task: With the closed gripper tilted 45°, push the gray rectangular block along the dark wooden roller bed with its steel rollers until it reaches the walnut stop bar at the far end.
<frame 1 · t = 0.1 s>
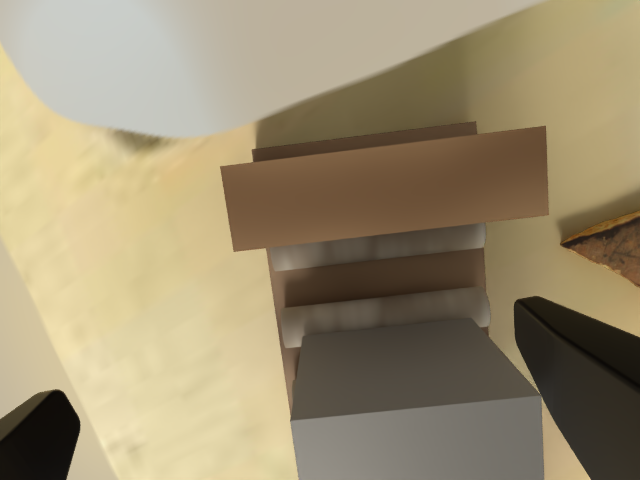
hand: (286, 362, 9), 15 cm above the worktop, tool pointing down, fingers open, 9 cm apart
roller bed: (380, 328, 25), on the worktop
gray rectangular block: (408, 471, 19), point 7 cm above the worktop, slide at 0.0 cm
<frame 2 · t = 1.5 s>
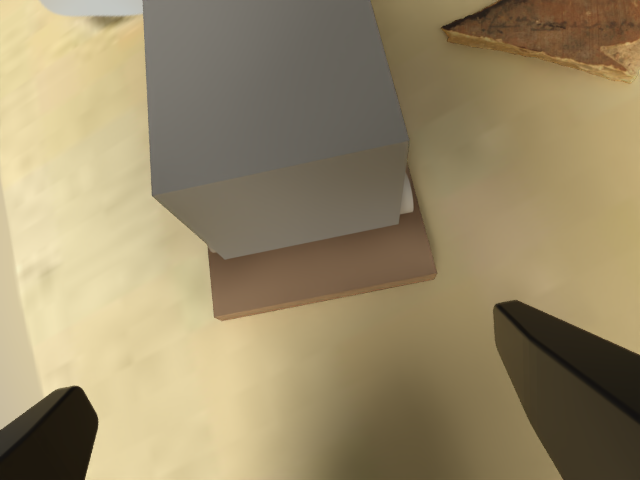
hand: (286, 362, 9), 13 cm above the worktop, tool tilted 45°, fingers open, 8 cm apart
shard: (559, 52, 27), on the worktop
roller bed: (295, 126, 26), on the worktop
gray rectangular block: (279, 103, 18), point 7 cm above the worktop, slide at 0.0 cm
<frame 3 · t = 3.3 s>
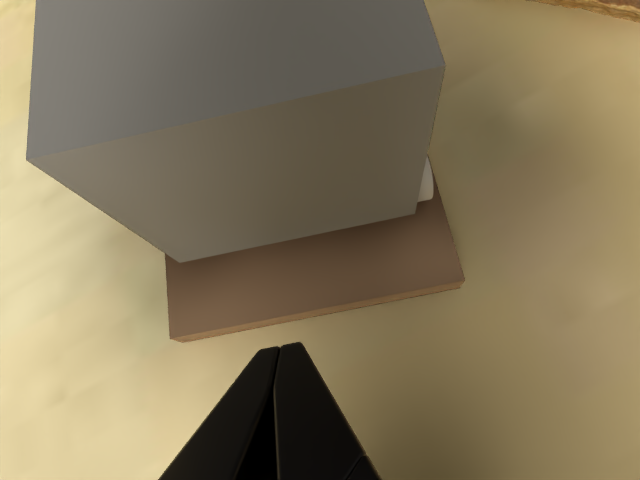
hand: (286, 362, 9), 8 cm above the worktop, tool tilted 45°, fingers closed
shard: (609, 3, 21), on the worktop
roller bed: (280, 96, 21), on the worktop
gray rectangular block: (249, 44, 13), point 7 cm above the worktop, slide at 0.0 cm
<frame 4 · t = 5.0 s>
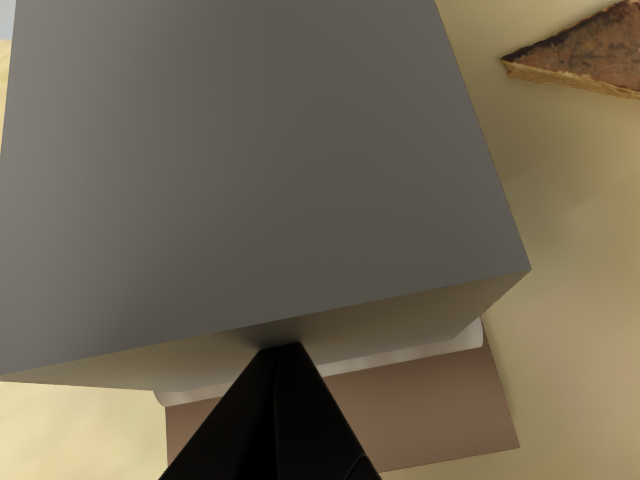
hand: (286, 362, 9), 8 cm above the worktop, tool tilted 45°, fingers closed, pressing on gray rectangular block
roller bed: (296, 195, 19), on the worktop
gray rectangular block: (261, 154, 11), point 7 cm above the worktop, slide at 1.3 cm, touching gripper
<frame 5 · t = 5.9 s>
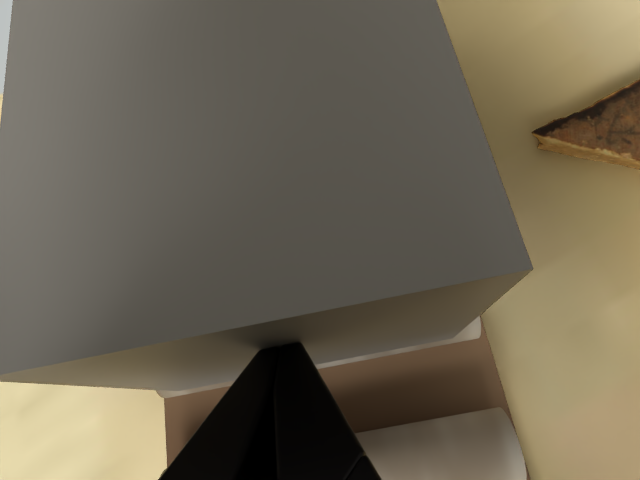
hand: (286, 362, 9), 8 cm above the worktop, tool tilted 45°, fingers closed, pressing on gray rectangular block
roller bed: (310, 280, 17), on the worktop
gray rectangular block: (261, 152, 11), point 7 cm above the worktop, slide at 5.0 cm, touching gripper
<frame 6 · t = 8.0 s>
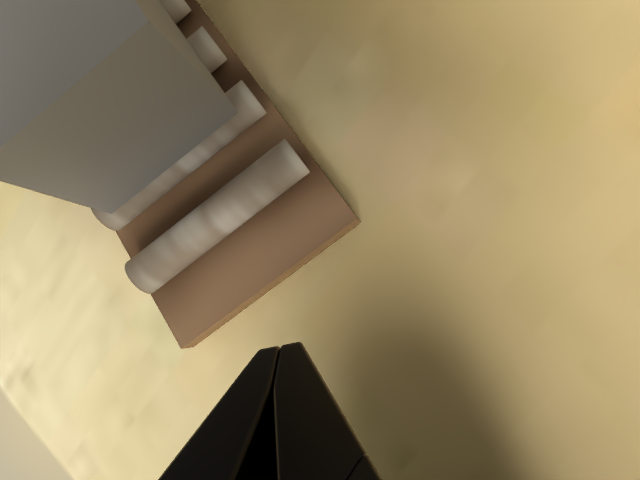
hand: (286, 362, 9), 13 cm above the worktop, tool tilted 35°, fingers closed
roller bed: (178, 137, 26), on the worktop
gray rectangular block: (75, 53, 19), point 7 cm above the worktop, slide at 5.0 cm
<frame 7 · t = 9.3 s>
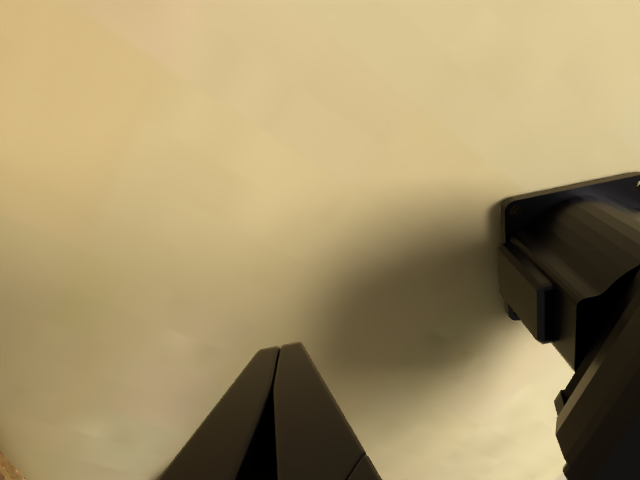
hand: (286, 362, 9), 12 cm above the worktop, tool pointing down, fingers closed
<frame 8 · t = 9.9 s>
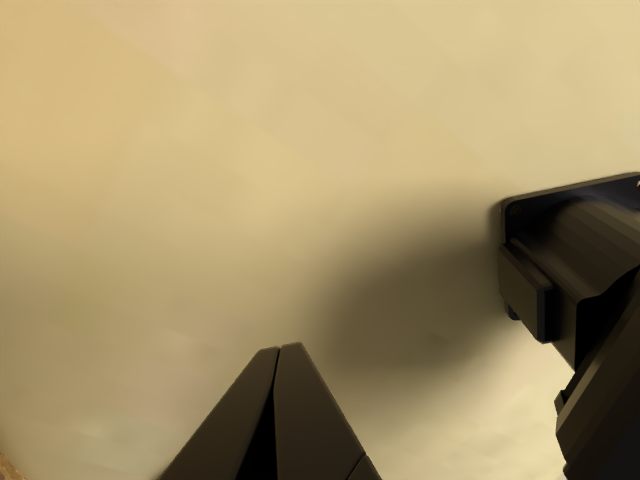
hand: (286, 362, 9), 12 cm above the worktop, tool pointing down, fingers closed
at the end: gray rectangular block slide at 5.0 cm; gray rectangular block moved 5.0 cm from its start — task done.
